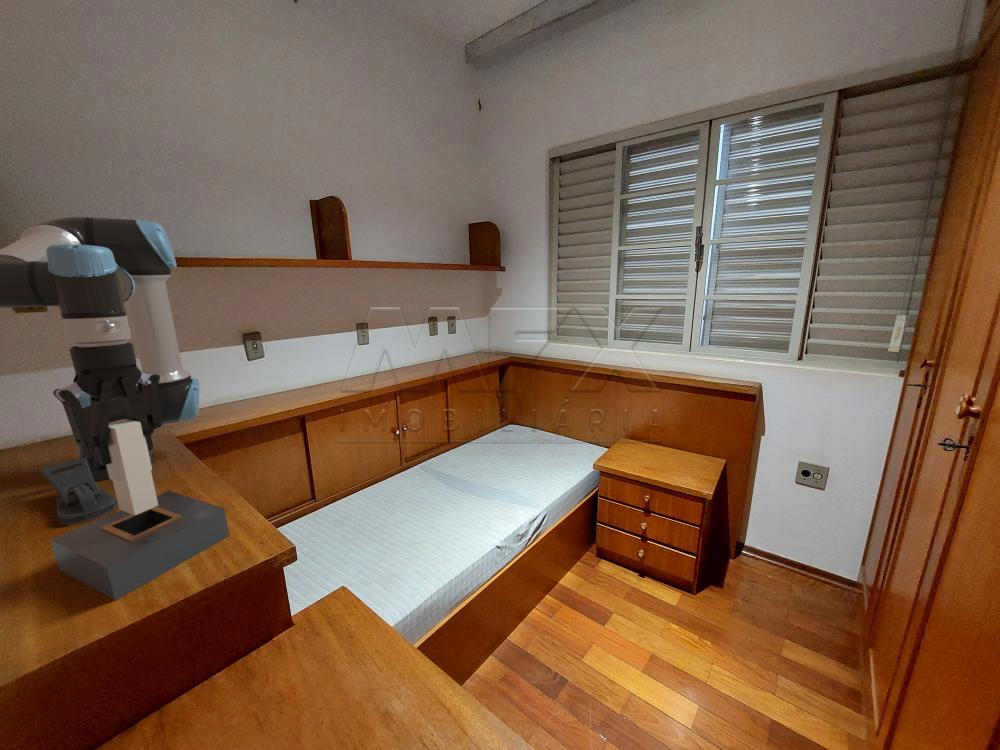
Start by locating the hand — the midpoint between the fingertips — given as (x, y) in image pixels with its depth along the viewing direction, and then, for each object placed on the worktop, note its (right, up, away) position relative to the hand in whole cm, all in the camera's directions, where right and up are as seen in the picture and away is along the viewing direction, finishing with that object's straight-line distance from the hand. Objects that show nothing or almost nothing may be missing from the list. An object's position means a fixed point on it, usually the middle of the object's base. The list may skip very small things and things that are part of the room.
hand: (131, 474), depth 71 cm
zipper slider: (-31, -12, +21) cm, 40 cm away
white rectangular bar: (0, -6, +1) cm, 7 cm away
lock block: (0, -15, +4) cm, 16 cm away
